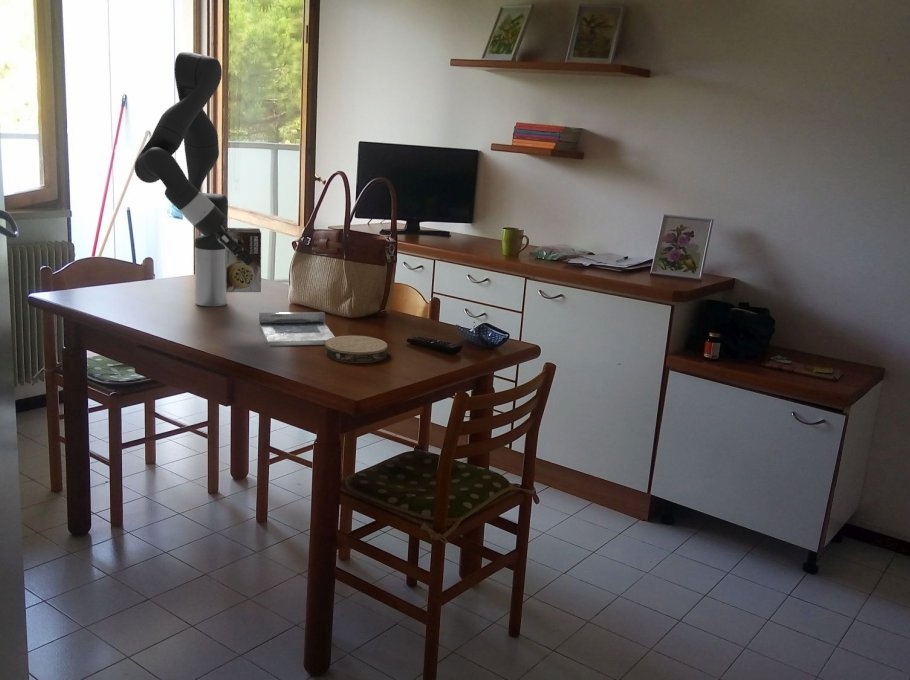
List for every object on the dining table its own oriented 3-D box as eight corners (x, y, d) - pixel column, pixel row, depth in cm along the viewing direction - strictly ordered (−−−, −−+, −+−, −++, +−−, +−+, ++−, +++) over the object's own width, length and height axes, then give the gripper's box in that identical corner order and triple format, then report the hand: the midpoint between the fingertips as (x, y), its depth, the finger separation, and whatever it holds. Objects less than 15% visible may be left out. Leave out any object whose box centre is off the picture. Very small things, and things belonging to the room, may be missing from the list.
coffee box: (259, 287, 225) (260, 228, 221) (261, 292, 220) (262, 232, 215) (224, 287, 223) (224, 226, 218) (225, 292, 217) (225, 230, 213)
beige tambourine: (343, 343, 224) (344, 332, 223) (397, 352, 218) (397, 341, 217) (312, 356, 209) (312, 345, 208) (369, 367, 204) (369, 356, 203)
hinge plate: (258, 326, 233) (259, 311, 232) (322, 325, 239) (323, 311, 238) (268, 345, 215) (268, 330, 213) (337, 344, 221) (337, 328, 220)
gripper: (215, 207, 206) (263, 255, 213) (212, 200, 219) (257, 246, 226) (192, 228, 206) (241, 275, 213) (191, 219, 219) (237, 264, 226)
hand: (249, 260), depth 220 cm, fingers closed on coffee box, 6 cm apart
